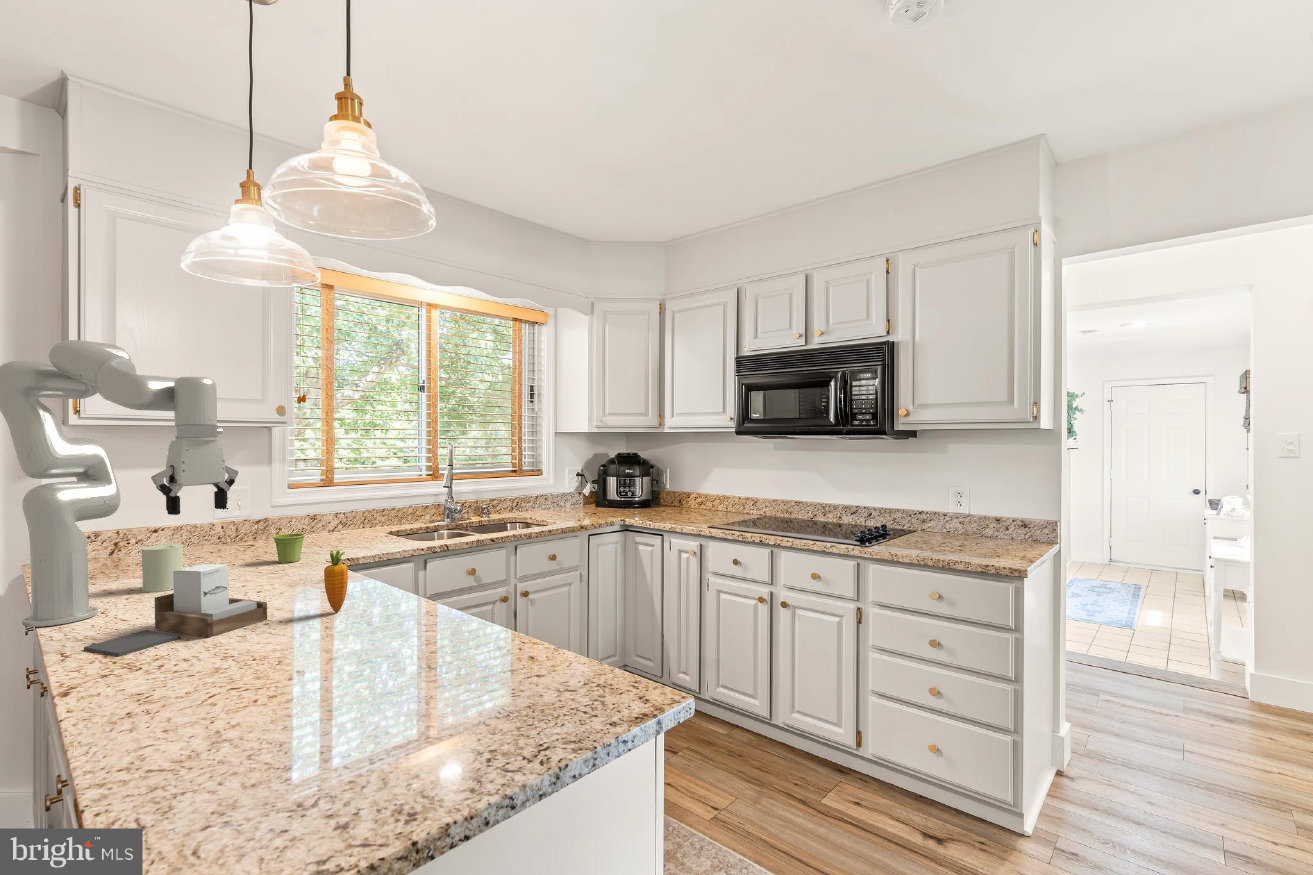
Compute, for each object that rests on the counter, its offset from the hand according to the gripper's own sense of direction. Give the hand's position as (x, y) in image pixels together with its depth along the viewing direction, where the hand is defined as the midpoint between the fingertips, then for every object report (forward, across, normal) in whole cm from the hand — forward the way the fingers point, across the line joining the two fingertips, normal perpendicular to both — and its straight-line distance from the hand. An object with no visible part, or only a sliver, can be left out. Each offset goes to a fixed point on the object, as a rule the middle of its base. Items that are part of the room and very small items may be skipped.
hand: (198, 511), depth 136 cm
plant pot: (+26, -56, -46) cm, 77 cm away
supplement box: (+26, -2, -2) cm, 26 cm away
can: (+26, -19, -47) cm, 57 cm away
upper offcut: (+23, -2, +6) cm, 24 cm away
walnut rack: (+25, -2, +1) cm, 25 cm away
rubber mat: (+25, +12, -1) cm, 28 cm away
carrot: (+26, -18, +20) cm, 37 cm away
